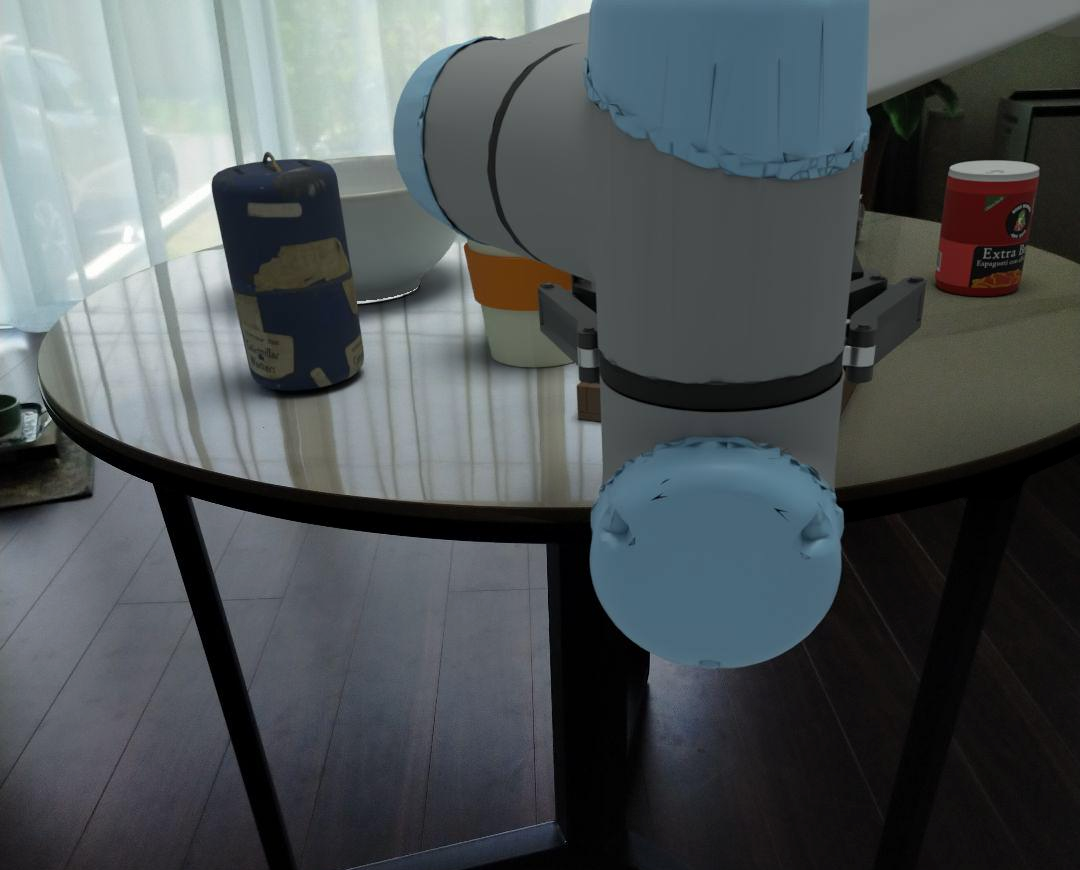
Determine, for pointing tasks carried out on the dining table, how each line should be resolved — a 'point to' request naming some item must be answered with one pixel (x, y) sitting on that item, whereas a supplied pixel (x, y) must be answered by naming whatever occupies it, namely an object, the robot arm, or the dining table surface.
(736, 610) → the robot arm
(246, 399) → the dining table surface
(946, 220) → the canned food
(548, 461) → the dining table surface
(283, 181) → the canister
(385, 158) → the decorative bowl
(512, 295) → the reusable coffee cup
